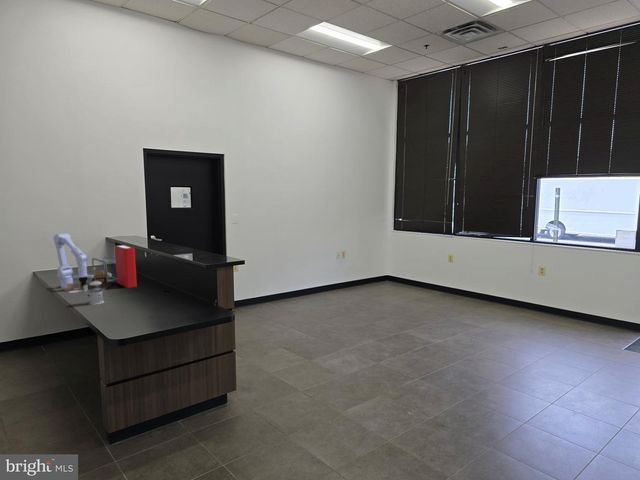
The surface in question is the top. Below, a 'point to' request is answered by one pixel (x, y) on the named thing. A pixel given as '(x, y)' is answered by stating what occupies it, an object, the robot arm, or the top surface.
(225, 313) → the top surface
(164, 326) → the top surface
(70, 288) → the canister
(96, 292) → the french press
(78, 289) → the tan notched piece
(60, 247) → the robot arm
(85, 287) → the pale blue block
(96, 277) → the cigar case
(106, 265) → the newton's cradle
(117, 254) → the book
